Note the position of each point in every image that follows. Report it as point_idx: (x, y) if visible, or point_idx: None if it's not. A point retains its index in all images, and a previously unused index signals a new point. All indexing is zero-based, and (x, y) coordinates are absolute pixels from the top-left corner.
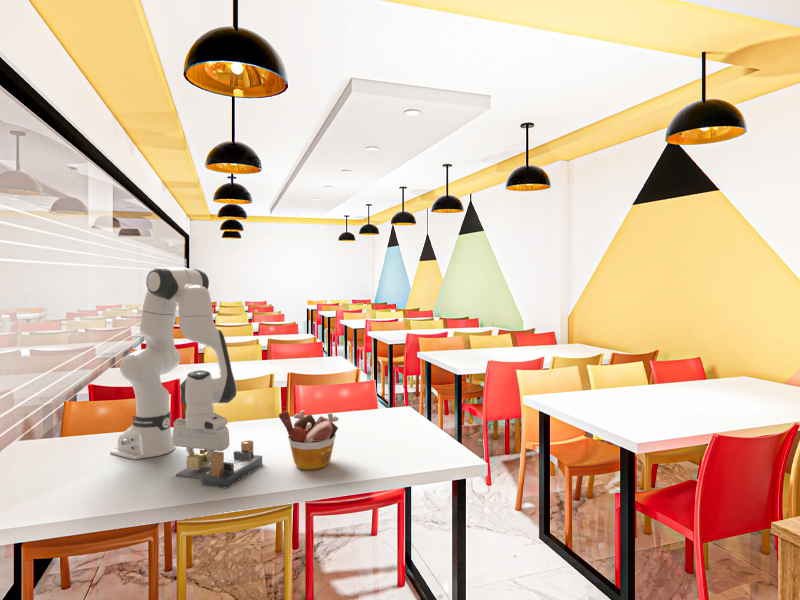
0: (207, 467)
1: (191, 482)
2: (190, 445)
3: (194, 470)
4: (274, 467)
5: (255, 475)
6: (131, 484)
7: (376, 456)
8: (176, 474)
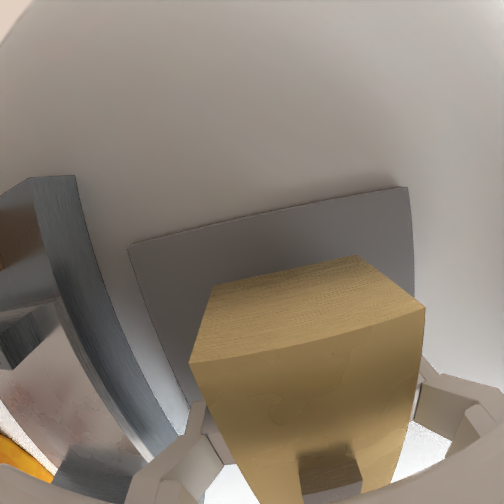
0: None
1: (175, 155)
2: (483, 472)
3: None
4: None
5: None
6: (472, 23)
7: None
8: (399, 188)
